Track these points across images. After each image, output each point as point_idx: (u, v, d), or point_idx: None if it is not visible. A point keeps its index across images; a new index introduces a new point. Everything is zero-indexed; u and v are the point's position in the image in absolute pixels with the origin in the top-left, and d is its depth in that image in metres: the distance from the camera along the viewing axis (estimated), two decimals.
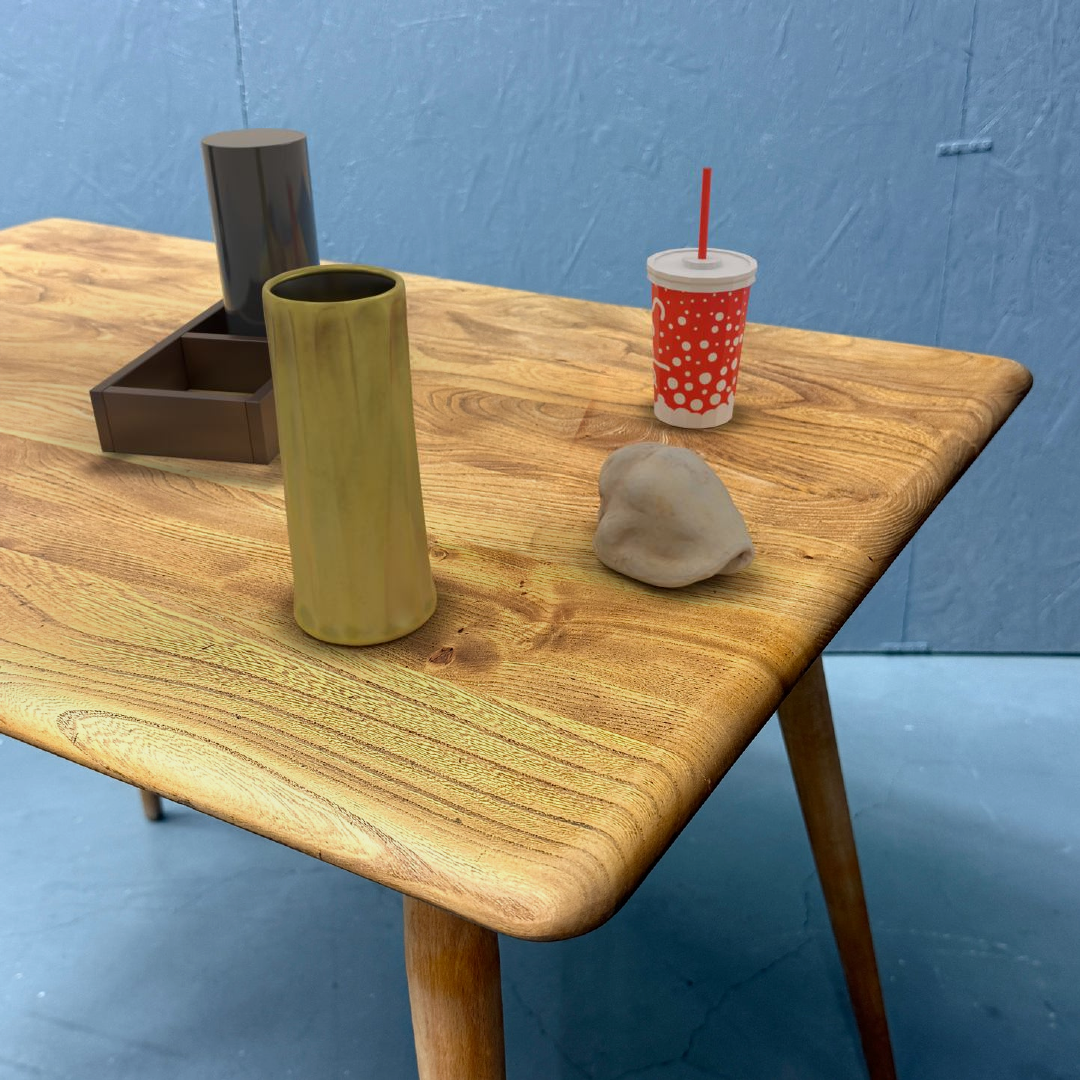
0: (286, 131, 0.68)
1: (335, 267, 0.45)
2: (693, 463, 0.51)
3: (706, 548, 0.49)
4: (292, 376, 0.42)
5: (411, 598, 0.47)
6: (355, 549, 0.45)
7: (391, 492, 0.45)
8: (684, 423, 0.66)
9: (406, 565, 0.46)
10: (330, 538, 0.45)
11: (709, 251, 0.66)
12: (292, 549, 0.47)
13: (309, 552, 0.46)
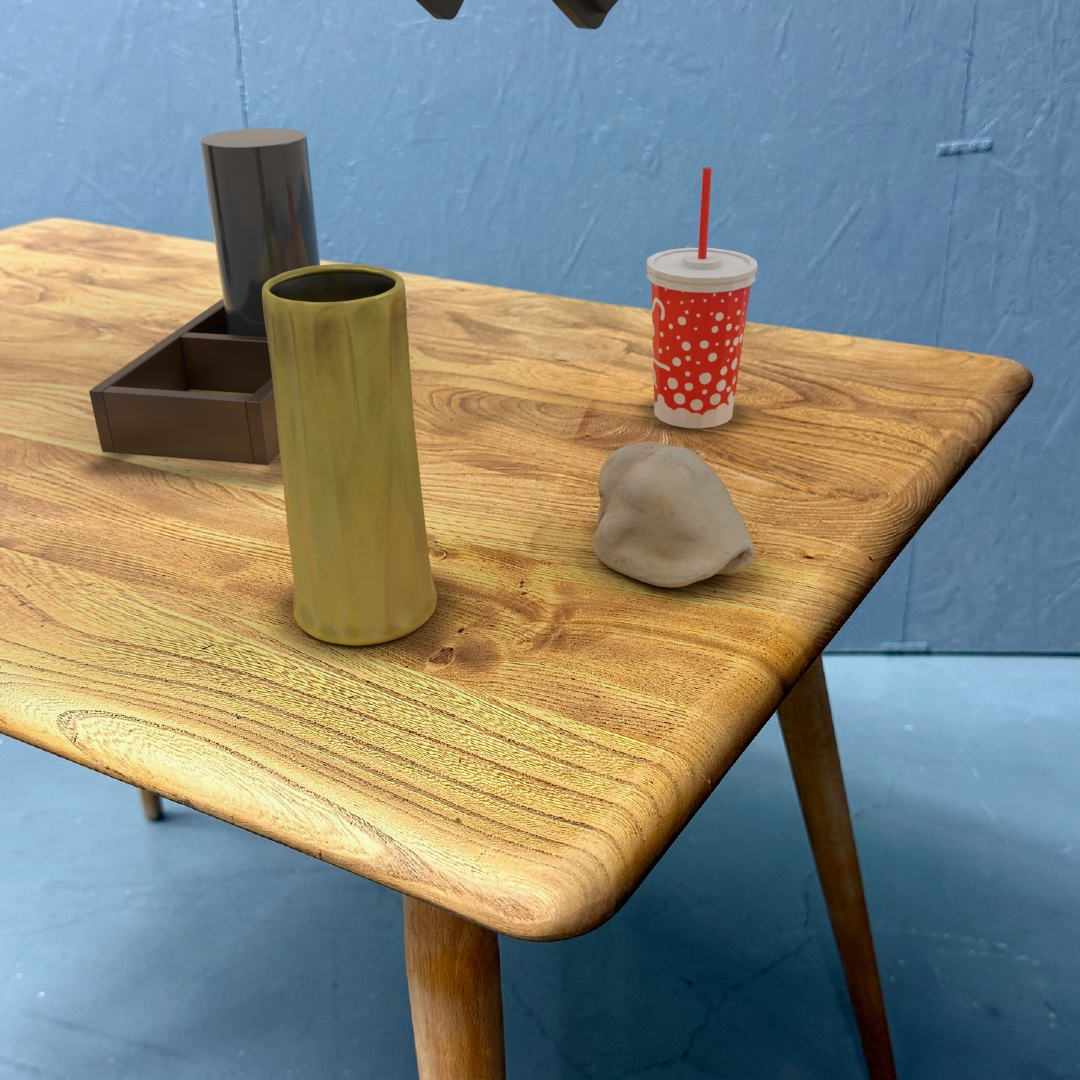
0: (286, 131, 0.68)
1: (335, 267, 0.45)
2: (693, 463, 0.51)
3: (706, 548, 0.49)
4: (292, 376, 0.42)
5: (411, 598, 0.47)
6: (355, 549, 0.45)
7: (391, 492, 0.45)
8: (684, 423, 0.66)
9: (406, 565, 0.46)
10: (330, 538, 0.45)
11: (709, 251, 0.66)
12: (292, 549, 0.47)
13: (309, 552, 0.46)
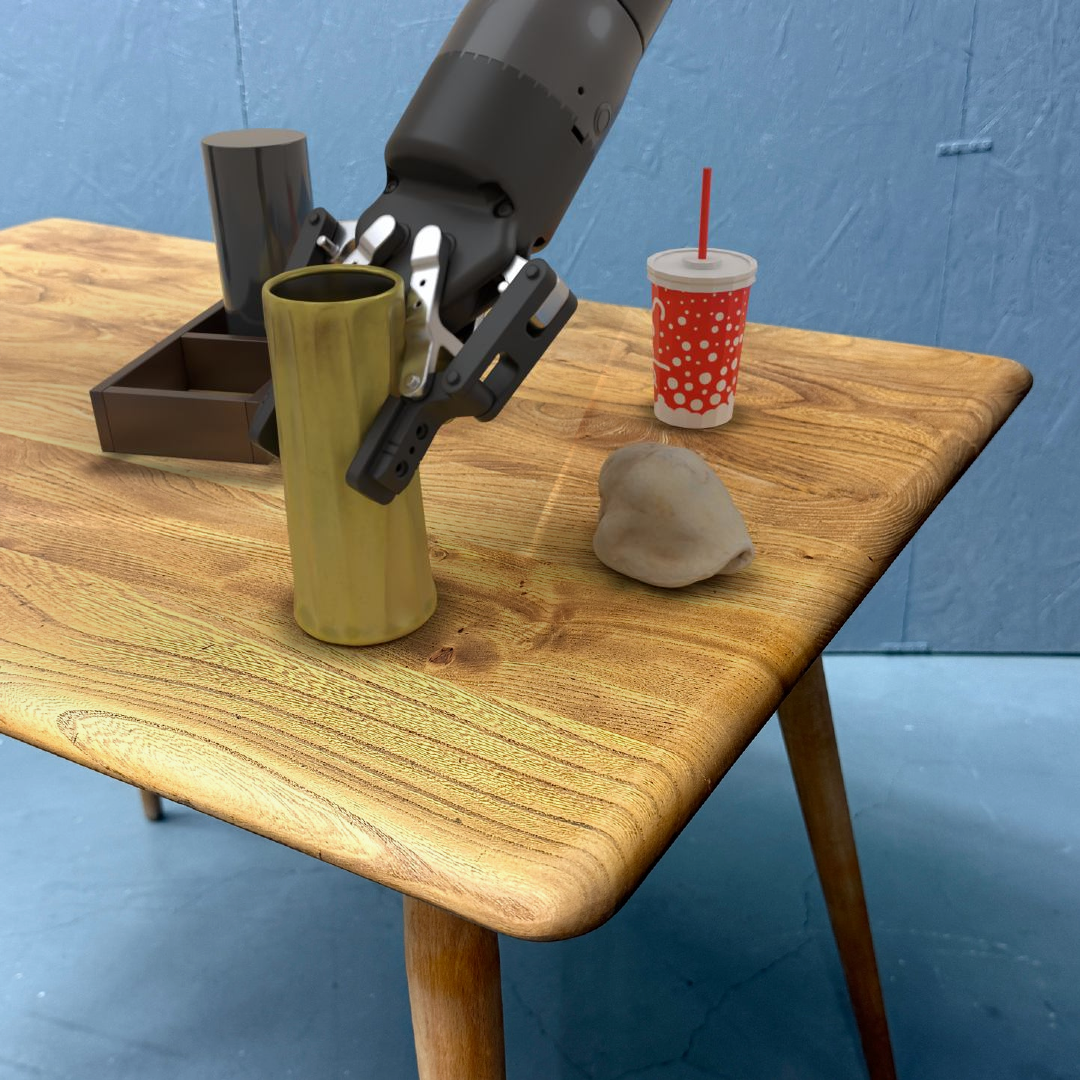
0: (286, 131, 0.68)
1: (335, 267, 0.45)
2: (693, 463, 0.51)
3: (706, 548, 0.49)
4: (292, 376, 0.42)
5: (411, 598, 0.47)
6: (355, 549, 0.45)
7: None
8: (684, 423, 0.66)
9: (406, 565, 0.46)
10: (330, 538, 0.45)
11: (709, 251, 0.66)
12: (292, 549, 0.47)
13: (309, 552, 0.46)
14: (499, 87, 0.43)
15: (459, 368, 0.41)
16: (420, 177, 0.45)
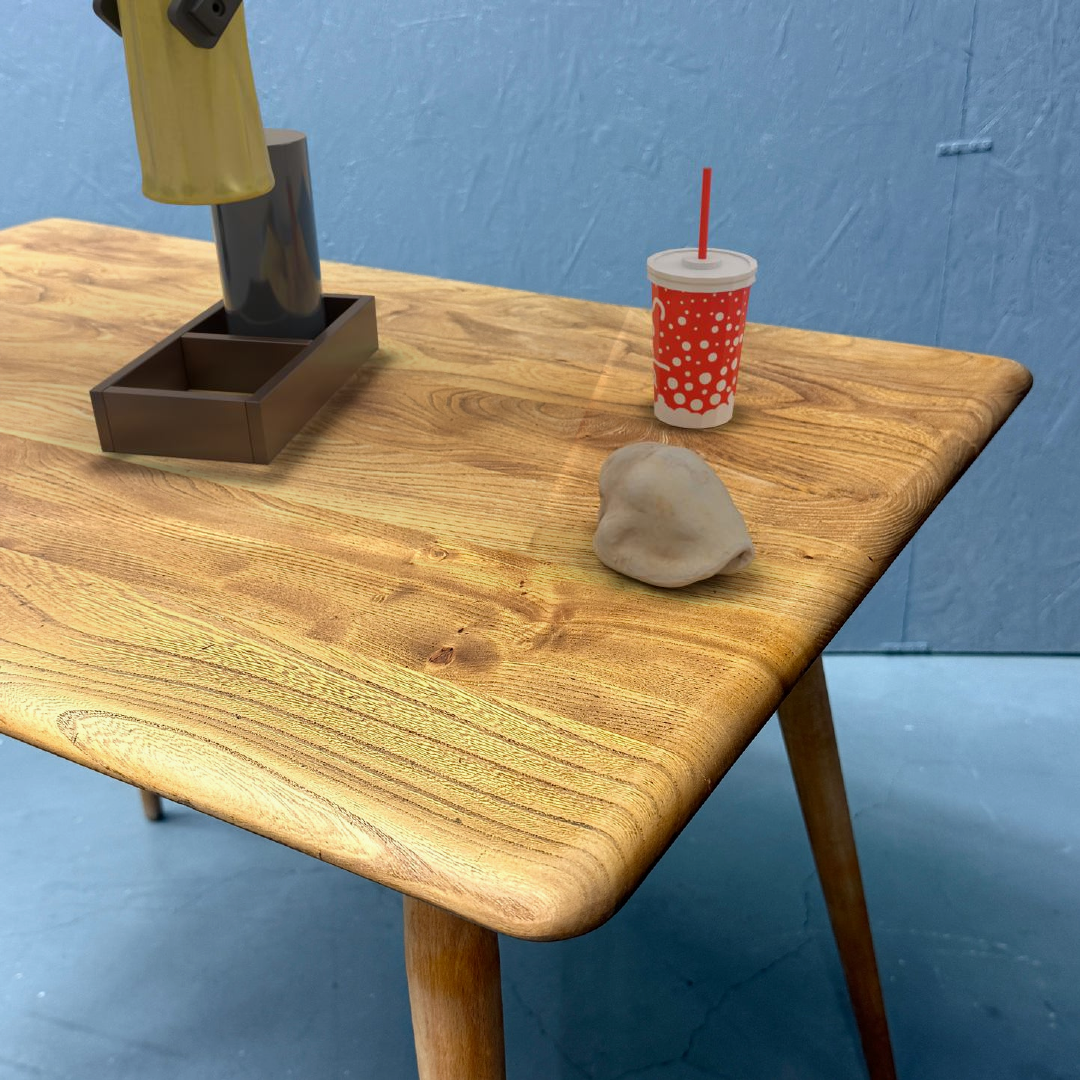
0: (286, 131, 0.68)
1: None
2: (693, 463, 0.51)
3: (706, 548, 0.49)
4: None
5: (243, 164, 0.52)
6: (185, 102, 0.50)
7: (216, 46, 0.50)
8: (684, 423, 0.66)
9: (236, 128, 0.51)
10: (162, 90, 0.50)
11: (709, 251, 0.66)
12: (134, 116, 0.52)
13: (146, 110, 0.51)
14: None
15: None
16: None
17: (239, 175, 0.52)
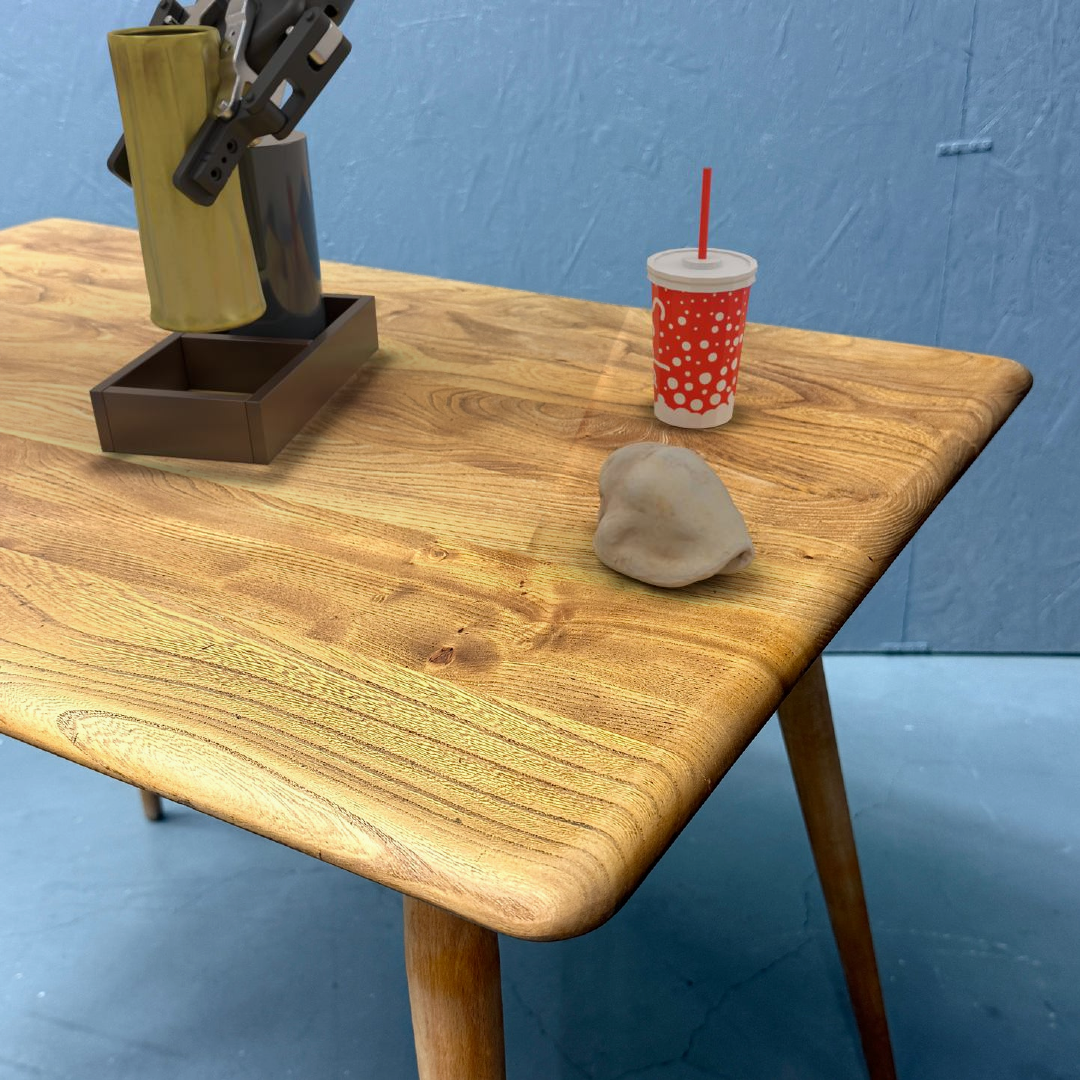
0: None
1: (170, 27, 0.58)
2: (693, 463, 0.51)
3: (706, 548, 0.49)
4: (130, 101, 0.55)
5: (238, 297, 0.60)
6: (188, 248, 0.58)
7: None
8: (684, 423, 0.66)
9: (232, 267, 0.59)
10: (168, 239, 0.58)
11: (709, 251, 0.66)
12: (144, 257, 0.60)
13: (154, 254, 0.59)
14: None
15: (255, 90, 0.54)
16: None
17: (235, 306, 0.60)
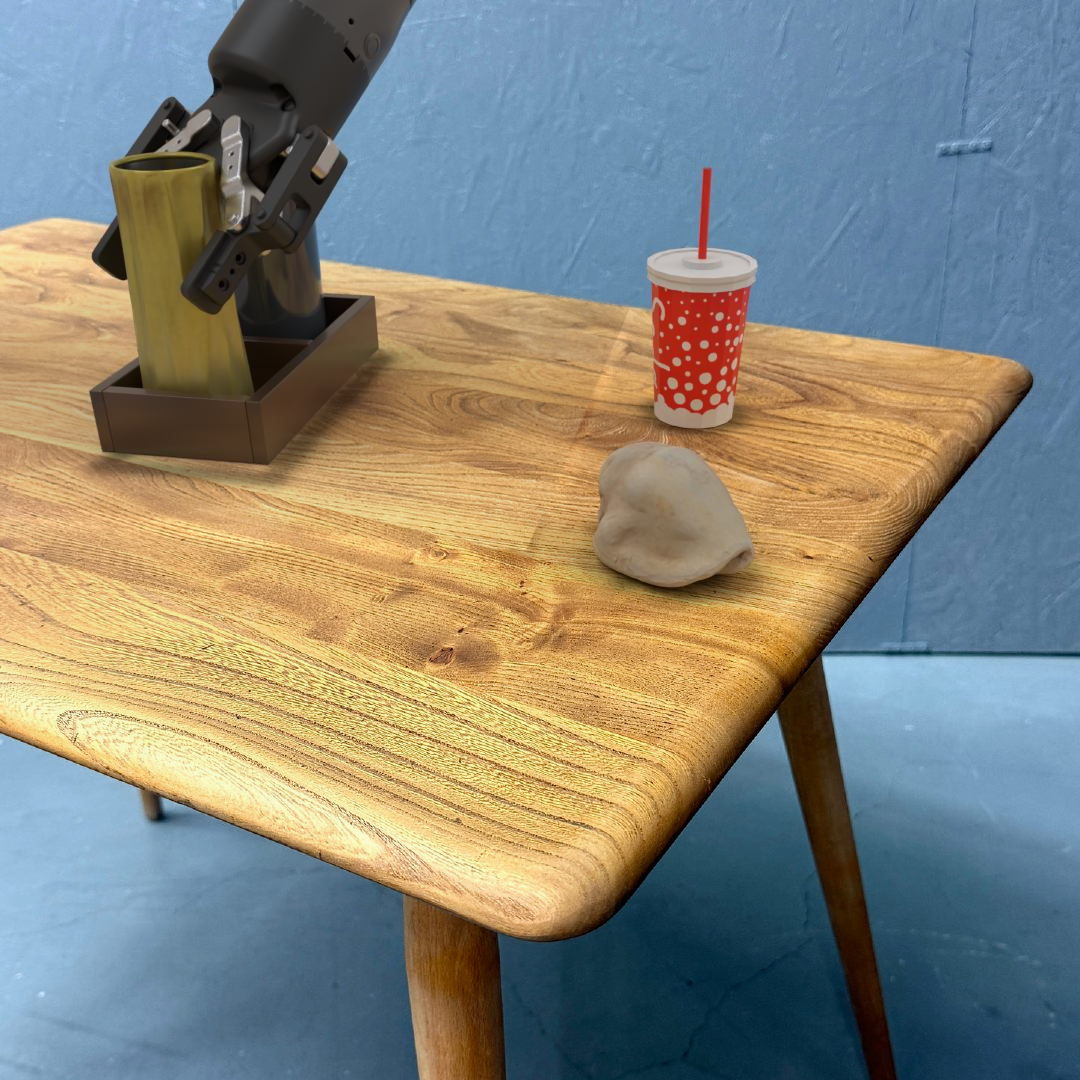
0: None
1: (169, 154, 0.60)
2: (693, 463, 0.51)
3: (706, 548, 0.49)
4: (130, 229, 0.57)
5: None
6: (184, 366, 0.60)
7: (210, 321, 0.60)
8: (684, 423, 0.66)
9: (227, 381, 0.62)
10: (165, 357, 0.60)
11: (709, 251, 0.66)
12: (141, 370, 0.62)
13: (152, 370, 0.61)
14: (286, 14, 0.58)
15: (265, 207, 0.56)
16: (233, 82, 0.61)
17: None
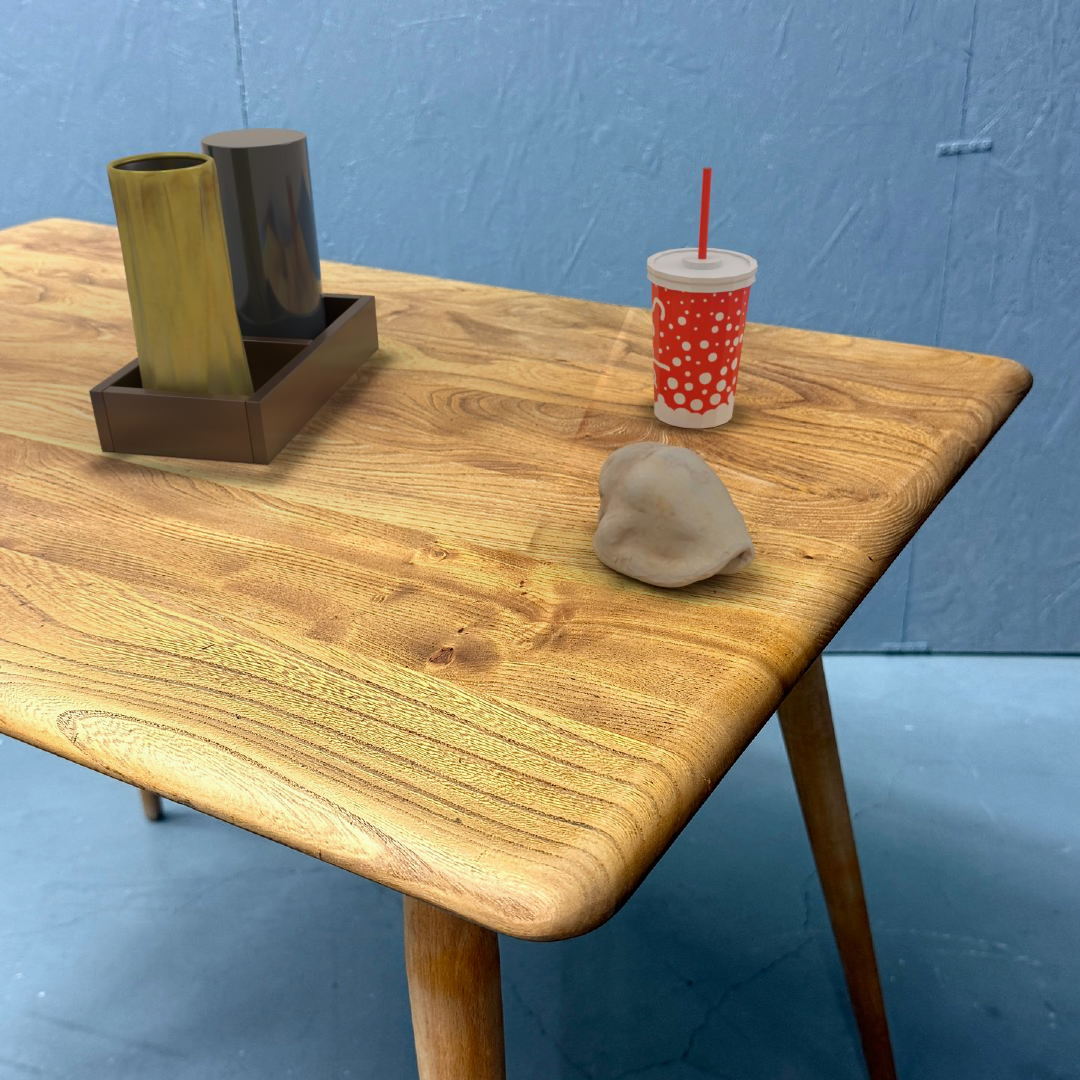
0: (286, 131, 0.68)
1: (167, 154, 0.60)
2: (693, 463, 0.51)
3: (706, 548, 0.49)
4: (129, 229, 0.57)
5: None
6: (184, 366, 0.60)
7: (209, 321, 0.60)
8: (684, 423, 0.66)
9: (226, 381, 0.62)
10: (165, 357, 0.60)
11: (709, 251, 0.66)
12: (141, 371, 0.62)
13: (151, 370, 0.61)
14: None
15: None
16: None
17: None
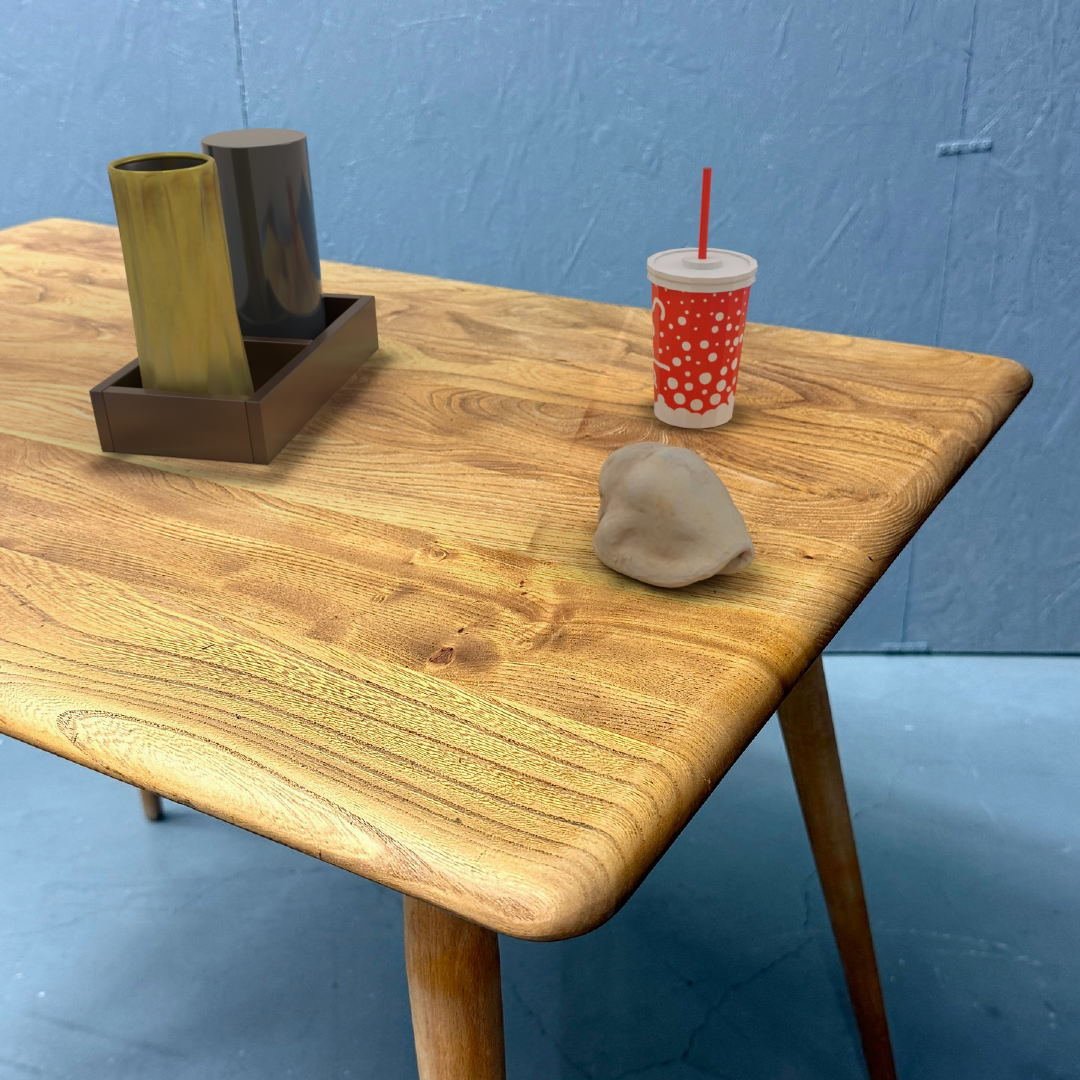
0: (286, 131, 0.68)
1: (168, 154, 0.60)
2: (693, 463, 0.51)
3: (706, 548, 0.49)
4: (129, 229, 0.57)
5: None
6: (184, 366, 0.60)
7: (210, 322, 0.60)
8: (684, 423, 0.66)
9: (226, 382, 0.62)
10: (165, 357, 0.60)
11: (709, 251, 0.66)
12: (141, 370, 0.62)
13: (151, 370, 0.61)
14: None
15: None
16: None
17: None
